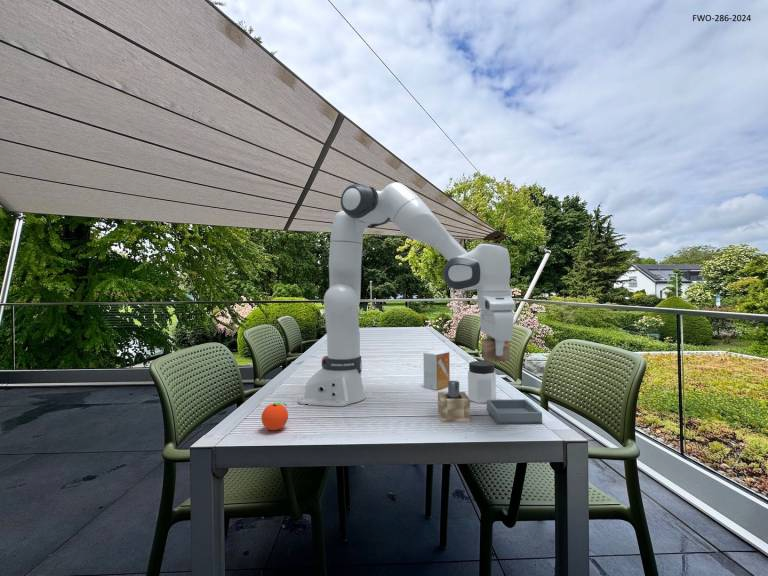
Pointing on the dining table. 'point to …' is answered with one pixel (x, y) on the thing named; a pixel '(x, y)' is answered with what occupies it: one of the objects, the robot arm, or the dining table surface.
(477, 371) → the jar
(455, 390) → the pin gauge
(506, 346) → the walnut block
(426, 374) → the small box
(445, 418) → the beech block
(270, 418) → the clementine
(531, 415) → the tray
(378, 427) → the dining table surface
